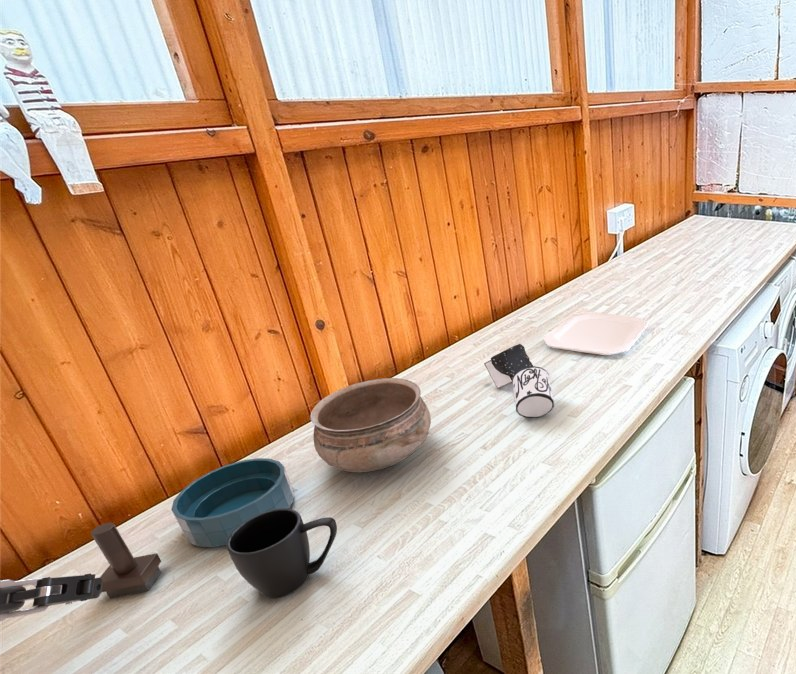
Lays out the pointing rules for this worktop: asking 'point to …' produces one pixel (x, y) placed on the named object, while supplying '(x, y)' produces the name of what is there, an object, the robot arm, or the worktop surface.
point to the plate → (596, 333)
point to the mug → (276, 550)
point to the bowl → (230, 499)
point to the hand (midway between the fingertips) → (52, 596)
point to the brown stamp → (124, 564)
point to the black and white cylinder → (522, 381)
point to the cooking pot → (370, 424)
